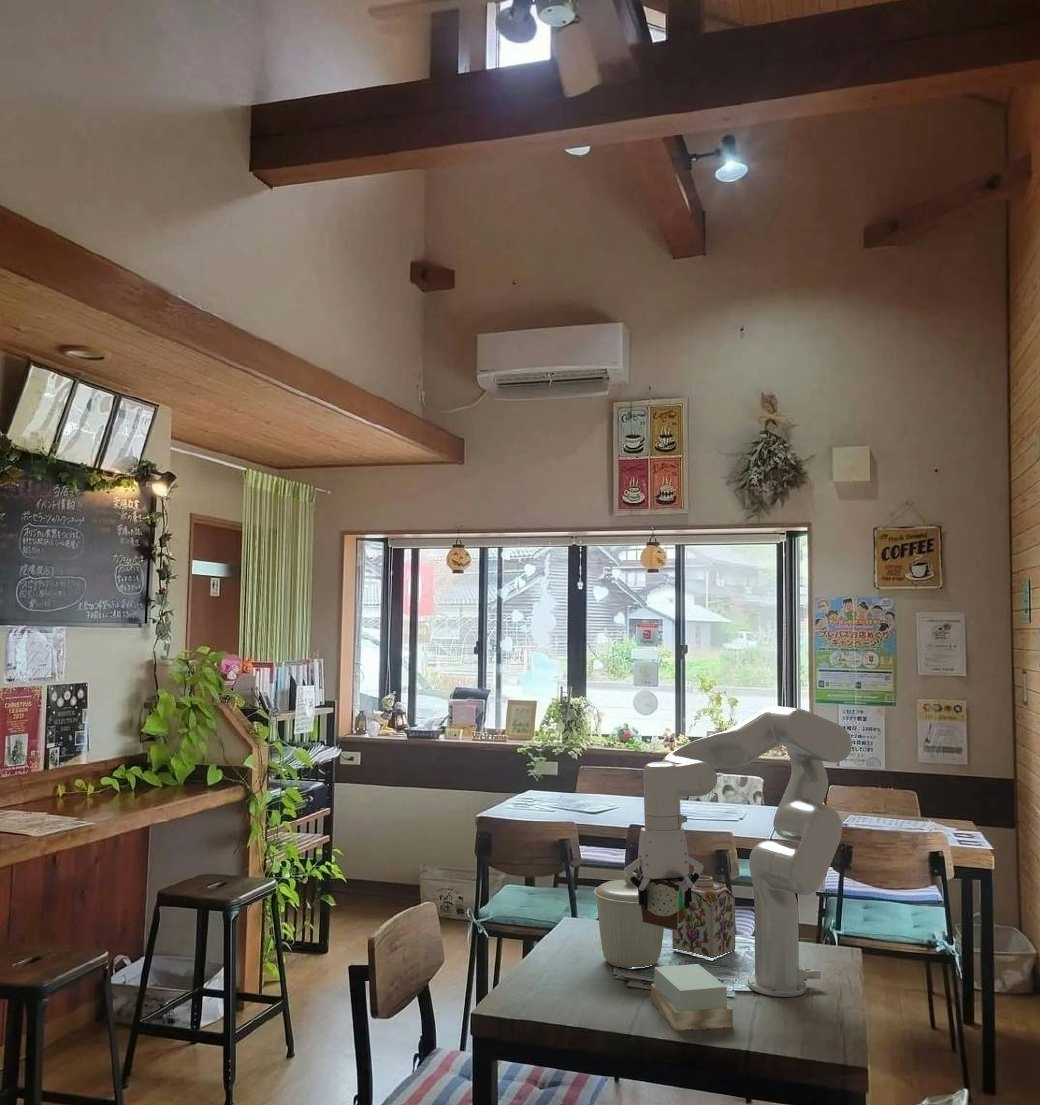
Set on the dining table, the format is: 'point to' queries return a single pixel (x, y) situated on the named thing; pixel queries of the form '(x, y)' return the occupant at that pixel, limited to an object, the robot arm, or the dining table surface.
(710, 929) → the decorative jar
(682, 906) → the food container
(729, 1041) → the dining table surface
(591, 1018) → the dining table surface
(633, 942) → the canister
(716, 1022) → the lower slab
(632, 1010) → the dining table surface
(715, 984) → the upper slab
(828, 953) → the dining table surface
